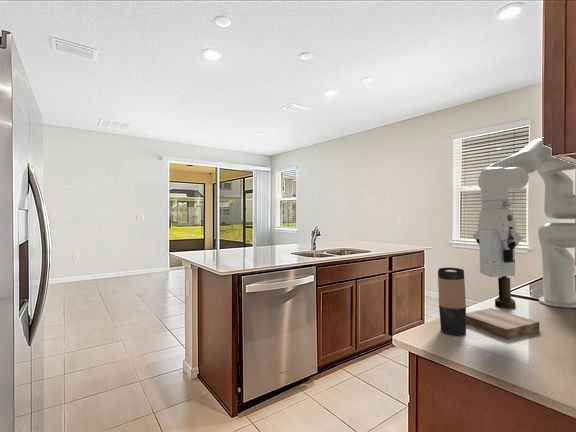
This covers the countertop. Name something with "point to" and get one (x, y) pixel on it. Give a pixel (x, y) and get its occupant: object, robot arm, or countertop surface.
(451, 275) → the travel mug
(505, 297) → the wooden pepper mill
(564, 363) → the countertop surface
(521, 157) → the robot arm
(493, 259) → the skincare box
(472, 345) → the countertop surface
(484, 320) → the walnut base board
